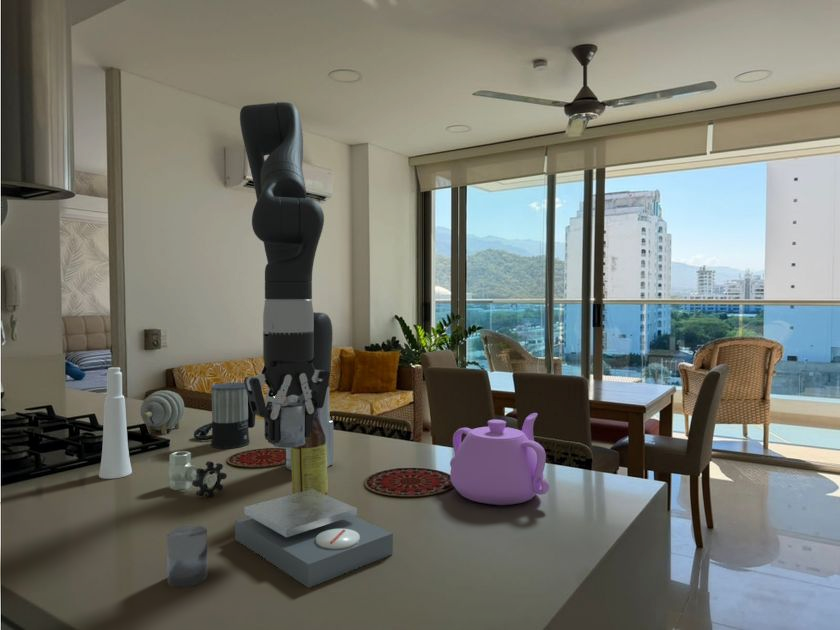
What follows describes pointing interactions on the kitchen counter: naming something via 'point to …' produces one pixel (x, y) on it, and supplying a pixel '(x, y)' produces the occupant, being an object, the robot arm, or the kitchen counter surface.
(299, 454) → the sauce bottle
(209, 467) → the valve
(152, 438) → the kitchen counter surface
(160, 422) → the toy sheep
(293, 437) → the cylinder
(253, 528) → the scale
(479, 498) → the teapot
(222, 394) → the milk frother
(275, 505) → the pan
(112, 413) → the cosmetic bottle
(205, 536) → the cylinder
